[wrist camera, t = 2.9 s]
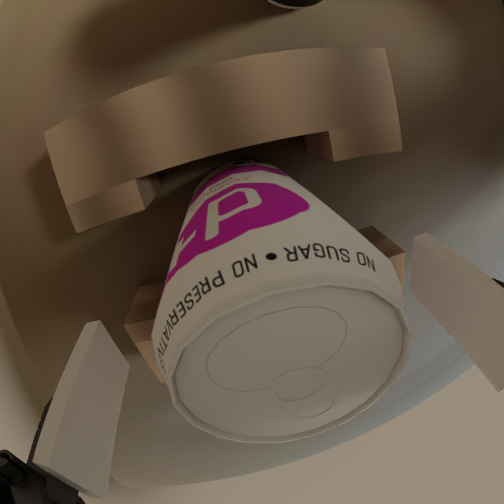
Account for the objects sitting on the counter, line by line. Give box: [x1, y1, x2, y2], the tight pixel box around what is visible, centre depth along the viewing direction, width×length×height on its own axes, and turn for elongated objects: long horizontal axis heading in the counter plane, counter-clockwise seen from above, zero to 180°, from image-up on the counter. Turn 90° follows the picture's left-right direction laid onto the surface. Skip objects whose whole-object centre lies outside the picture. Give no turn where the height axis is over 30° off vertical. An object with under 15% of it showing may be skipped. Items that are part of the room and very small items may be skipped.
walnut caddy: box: [43, 47, 405, 383], centre depth 18 cm, size 20×20×5 cm
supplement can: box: [151, 159, 412, 443], centre depth 14 cm, size 8×8×15 cm
